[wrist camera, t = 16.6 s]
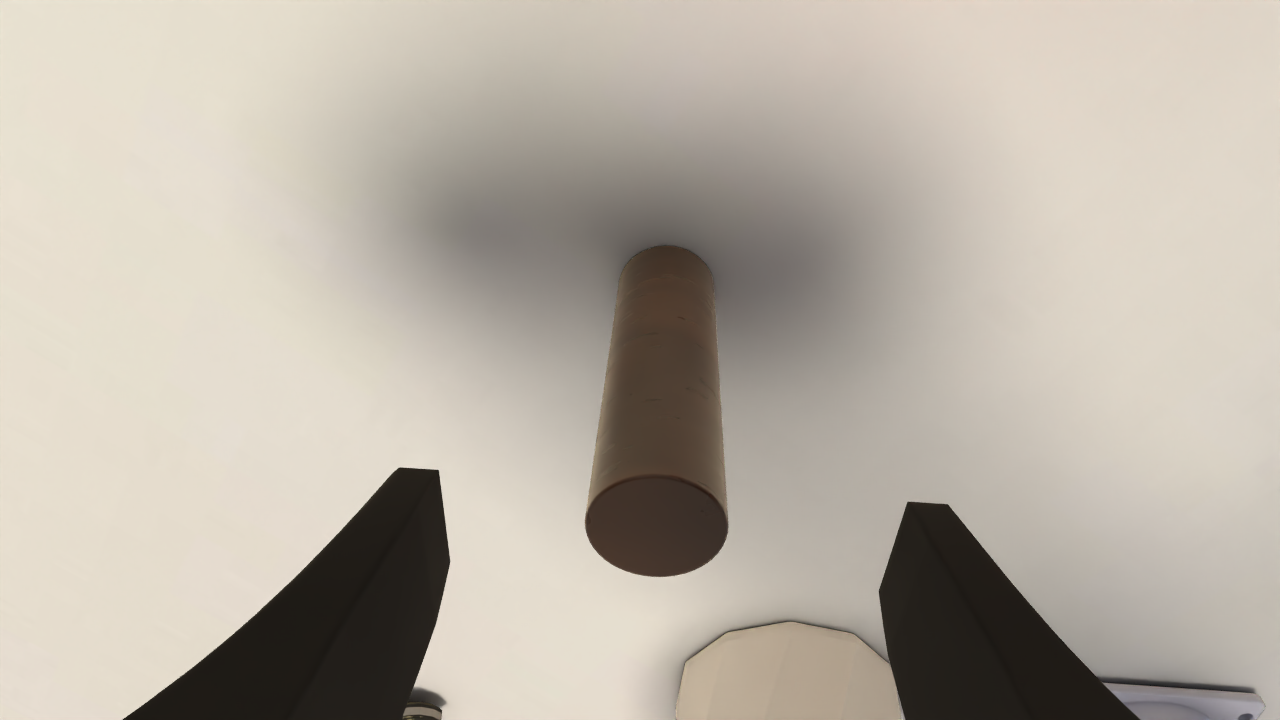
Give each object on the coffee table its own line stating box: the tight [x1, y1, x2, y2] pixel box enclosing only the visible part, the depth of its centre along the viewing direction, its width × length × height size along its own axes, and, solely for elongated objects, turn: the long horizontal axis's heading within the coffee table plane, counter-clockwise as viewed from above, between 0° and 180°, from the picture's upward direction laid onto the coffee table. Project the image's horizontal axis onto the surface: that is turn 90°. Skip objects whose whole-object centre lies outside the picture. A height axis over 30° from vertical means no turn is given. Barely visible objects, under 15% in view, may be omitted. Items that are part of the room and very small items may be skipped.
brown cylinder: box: [585, 246, 728, 577], centre depth 18 cm, size 3×3×9 cm
